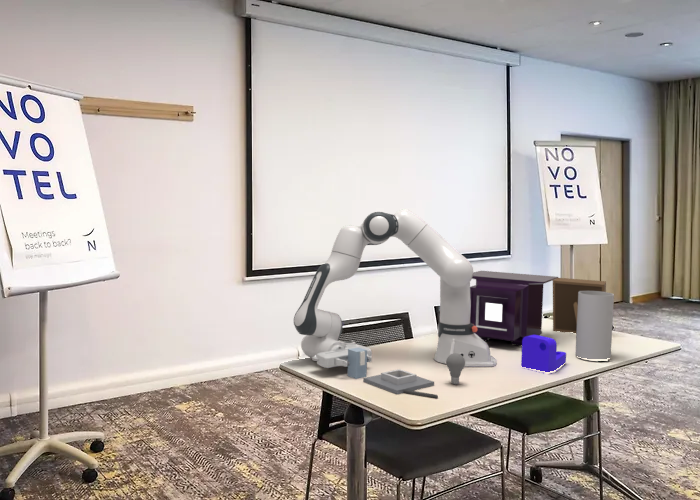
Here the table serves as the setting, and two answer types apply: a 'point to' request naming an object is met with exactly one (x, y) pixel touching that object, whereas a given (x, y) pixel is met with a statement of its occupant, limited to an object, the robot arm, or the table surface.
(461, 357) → the light bulb
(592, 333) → the cylinder vase
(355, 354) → the plug block
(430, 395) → the rod
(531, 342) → the bracket
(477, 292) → the dark purple stove
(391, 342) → the table surface
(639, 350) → the table surface
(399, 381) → the board
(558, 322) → the photo frame
